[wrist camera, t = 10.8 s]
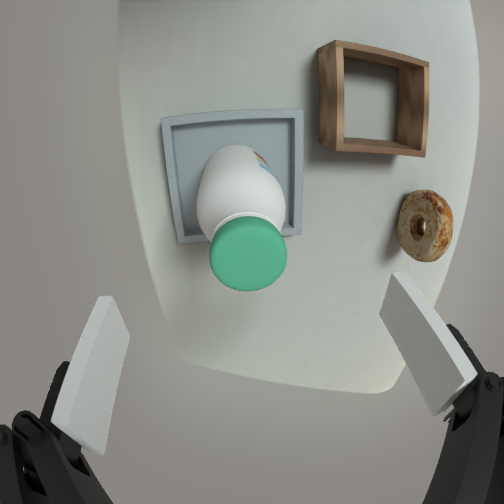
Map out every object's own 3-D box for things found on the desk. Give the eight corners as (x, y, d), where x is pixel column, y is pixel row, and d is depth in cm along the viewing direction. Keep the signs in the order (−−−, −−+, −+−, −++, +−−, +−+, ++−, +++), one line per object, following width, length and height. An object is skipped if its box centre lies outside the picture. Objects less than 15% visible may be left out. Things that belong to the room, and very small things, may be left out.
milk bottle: (201, 200, 35) (180, 307, 17) (208, 139, 31) (185, 191, 14) (261, 206, 36) (296, 315, 19) (272, 148, 32) (329, 209, 15)
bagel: (404, 179, 36) (446, 204, 28) (422, 182, 37) (463, 208, 28) (388, 240, 41) (421, 276, 33) (405, 241, 42) (438, 275, 33)
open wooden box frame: (317, 48, 26) (335, 39, 21) (402, 63, 27) (428, 62, 22) (318, 142, 33) (336, 151, 28) (400, 147, 34) (425, 157, 28)
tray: (165, 117, 30) (160, 118, 27) (298, 109, 30) (303, 109, 28) (180, 235, 38) (178, 243, 36) (296, 226, 39) (300, 234, 37)
